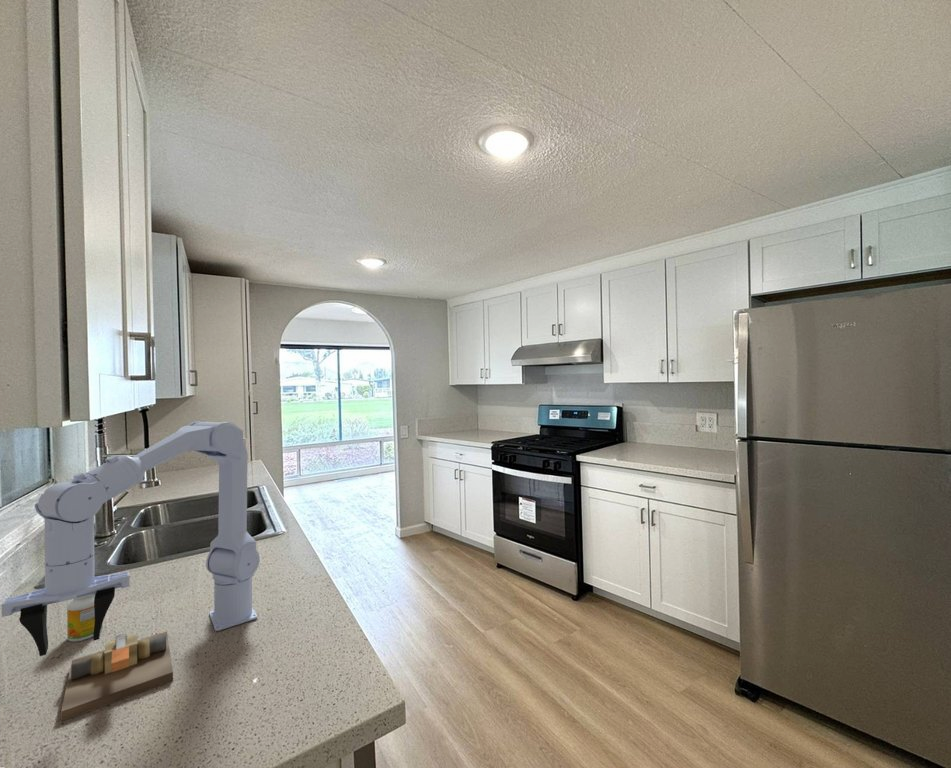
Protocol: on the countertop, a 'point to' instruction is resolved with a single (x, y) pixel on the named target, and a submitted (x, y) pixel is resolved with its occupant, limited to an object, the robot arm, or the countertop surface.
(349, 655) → the countertop surface
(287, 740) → the countertop surface
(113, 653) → the valve lever
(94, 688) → the valve base
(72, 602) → the supplement bottle
